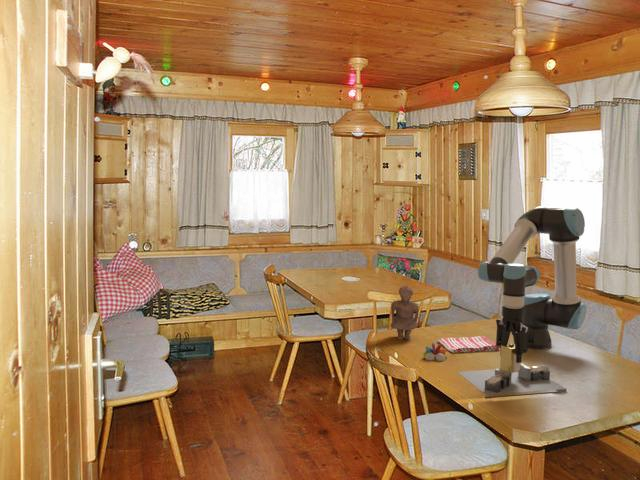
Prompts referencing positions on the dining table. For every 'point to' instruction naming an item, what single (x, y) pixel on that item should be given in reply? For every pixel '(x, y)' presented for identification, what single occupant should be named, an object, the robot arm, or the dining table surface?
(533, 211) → the robot arm
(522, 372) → the grey metal block
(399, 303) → the clay figurine
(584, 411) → the dining table surface
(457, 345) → the dish towel
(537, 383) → the grey base plate
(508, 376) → the grey notched block
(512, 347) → the tan rectangular block
